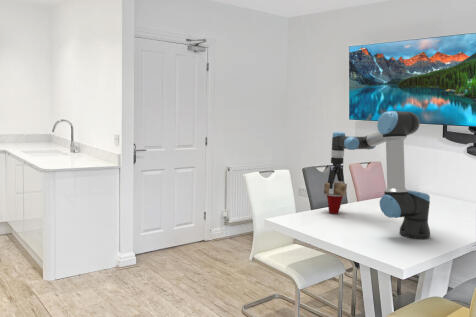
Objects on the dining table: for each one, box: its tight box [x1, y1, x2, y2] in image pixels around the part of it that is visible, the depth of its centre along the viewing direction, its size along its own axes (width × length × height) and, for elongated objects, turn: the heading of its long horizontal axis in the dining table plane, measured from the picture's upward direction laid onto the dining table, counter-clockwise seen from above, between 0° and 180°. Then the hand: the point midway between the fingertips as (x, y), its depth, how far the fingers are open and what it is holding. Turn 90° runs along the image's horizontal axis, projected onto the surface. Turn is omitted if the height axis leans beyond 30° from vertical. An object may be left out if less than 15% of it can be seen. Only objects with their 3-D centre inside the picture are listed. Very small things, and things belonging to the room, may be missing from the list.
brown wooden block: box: [323, 181, 348, 197], centre depth 275 cm, size 12×9×6 cm
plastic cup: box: [325, 194, 344, 215], centre depth 276 cm, size 11×11×12 cm
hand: (335, 192), depth 276 cm, fingers closed on brown wooden block, 10 cm apart
